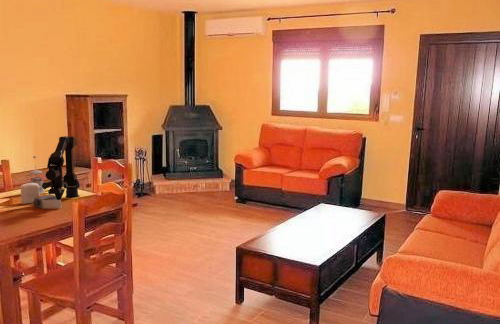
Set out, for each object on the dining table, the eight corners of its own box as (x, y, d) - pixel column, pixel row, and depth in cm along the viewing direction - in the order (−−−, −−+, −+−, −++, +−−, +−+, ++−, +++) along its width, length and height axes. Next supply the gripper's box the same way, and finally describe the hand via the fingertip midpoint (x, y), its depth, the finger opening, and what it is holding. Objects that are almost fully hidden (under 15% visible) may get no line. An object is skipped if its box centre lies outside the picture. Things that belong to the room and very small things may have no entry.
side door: (61, 207, 255) (60, 199, 254) (60, 208, 254) (60, 200, 253) (42, 208, 254) (42, 199, 253) (42, 209, 252) (41, 200, 251)
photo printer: (39, 200, 271) (38, 181, 268) (40, 202, 267) (39, 182, 265) (21, 203, 265) (19, 183, 263) (22, 204, 262) (20, 184, 259)
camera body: (49, 202, 266) (49, 193, 265) (58, 204, 262) (57, 195, 261) (32, 207, 256) (31, 197, 255) (40, 209, 252) (39, 199, 251)
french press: (41, 194, 286) (38, 157, 282) (23, 194, 286) (20, 157, 282) (48, 190, 296) (45, 154, 291) (31, 190, 296) (28, 154, 292)
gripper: (47, 173, 261) (49, 198, 264) (37, 180, 243) (39, 206, 246) (66, 173, 263) (68, 197, 266) (58, 179, 245) (60, 206, 248)
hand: (59, 202), depth 256 cm, fingers closed
